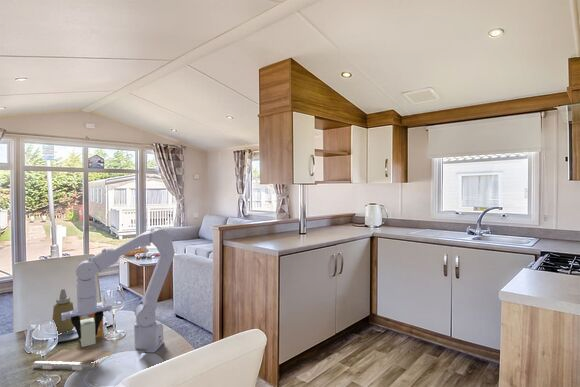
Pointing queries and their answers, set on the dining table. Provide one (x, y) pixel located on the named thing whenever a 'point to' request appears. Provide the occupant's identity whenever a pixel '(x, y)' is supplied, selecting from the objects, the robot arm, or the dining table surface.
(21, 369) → the dining table surface
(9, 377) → the dining table surface
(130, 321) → the dining table surface
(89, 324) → the carton
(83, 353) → the shelf board
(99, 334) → the small box
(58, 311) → the squeeze bottle
